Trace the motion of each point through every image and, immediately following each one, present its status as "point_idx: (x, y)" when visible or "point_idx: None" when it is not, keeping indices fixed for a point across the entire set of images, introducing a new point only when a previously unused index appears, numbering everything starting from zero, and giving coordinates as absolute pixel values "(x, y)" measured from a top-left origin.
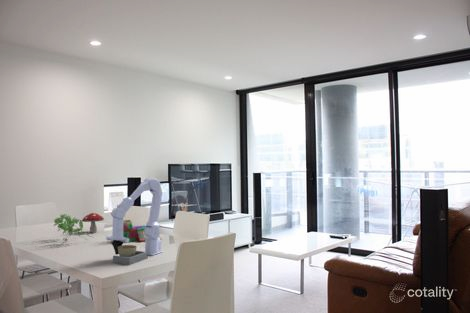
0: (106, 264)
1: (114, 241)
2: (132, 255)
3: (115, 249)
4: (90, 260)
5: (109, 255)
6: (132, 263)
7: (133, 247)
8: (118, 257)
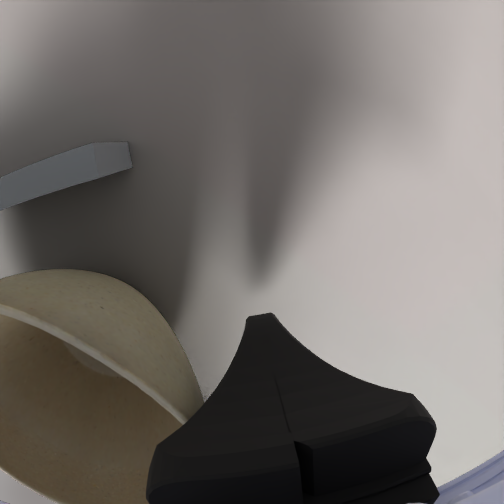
0: (122, 35)
1: (371, 489)
2: (11, 363)
3: (270, 353)
4: (451, 70)
5: (435, 330)
6: None
7: (107, 494)
8: (6, 177)
